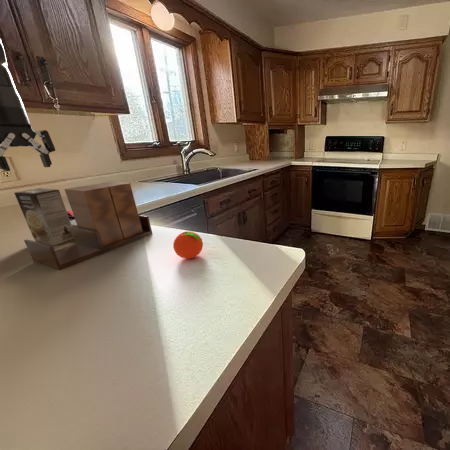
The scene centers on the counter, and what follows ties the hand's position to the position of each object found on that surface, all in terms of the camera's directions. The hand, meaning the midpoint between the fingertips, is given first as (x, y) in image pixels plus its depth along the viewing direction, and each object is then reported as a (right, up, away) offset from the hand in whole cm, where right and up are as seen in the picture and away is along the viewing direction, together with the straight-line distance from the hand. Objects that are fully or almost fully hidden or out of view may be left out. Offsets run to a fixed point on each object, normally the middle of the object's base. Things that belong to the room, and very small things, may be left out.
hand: (28, 168), depth 70 cm
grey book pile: (+4, -19, +14) cm, 24 cm away
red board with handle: (-10, -13, +31) cm, 35 cm away
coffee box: (0, -21, +8) cm, 23 cm away
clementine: (+50, -25, -6) cm, 56 cm away
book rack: (+19, -22, +2) cm, 29 cm away
